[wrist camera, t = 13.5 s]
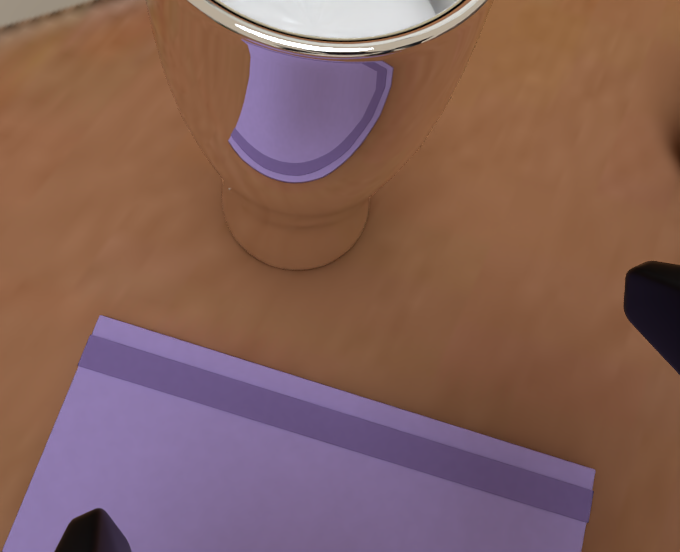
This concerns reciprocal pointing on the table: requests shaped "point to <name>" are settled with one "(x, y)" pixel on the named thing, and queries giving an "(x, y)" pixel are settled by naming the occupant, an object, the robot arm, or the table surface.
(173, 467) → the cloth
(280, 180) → the silver metal cup
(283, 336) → the table surface
